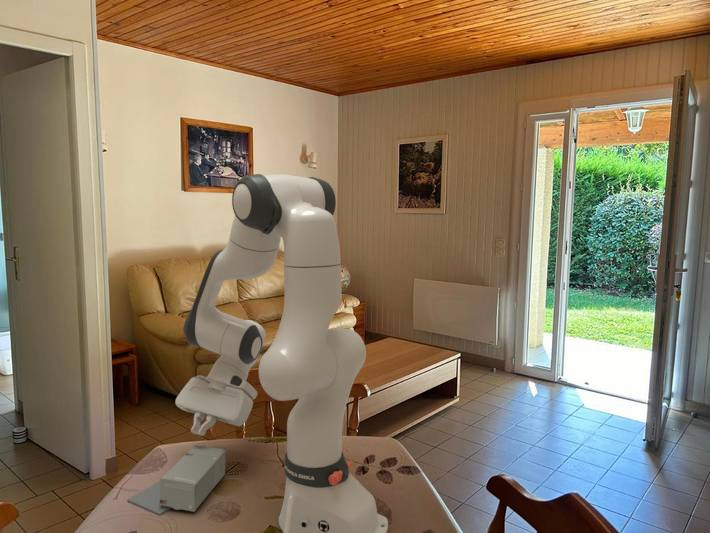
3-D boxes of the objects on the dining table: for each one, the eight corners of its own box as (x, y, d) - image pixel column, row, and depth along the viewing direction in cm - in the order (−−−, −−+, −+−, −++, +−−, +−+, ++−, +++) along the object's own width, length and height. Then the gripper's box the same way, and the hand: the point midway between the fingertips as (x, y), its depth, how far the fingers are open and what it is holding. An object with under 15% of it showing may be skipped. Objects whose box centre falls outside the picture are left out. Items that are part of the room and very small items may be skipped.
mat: (212, 482, 121) (212, 480, 121) (159, 515, 108) (159, 513, 108) (181, 470, 126) (180, 468, 126) (127, 501, 113) (127, 499, 113)
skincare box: (227, 448, 123) (197, 481, 108) (225, 477, 124) (195, 514, 108) (193, 443, 125) (159, 475, 109) (191, 472, 125) (157, 507, 110)
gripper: (187, 367, 133) (157, 418, 125) (251, 382, 123) (222, 438, 116) (201, 379, 137) (172, 429, 130) (263, 395, 127) (236, 449, 120)
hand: (196, 433), depth 123 cm, fingers closed
